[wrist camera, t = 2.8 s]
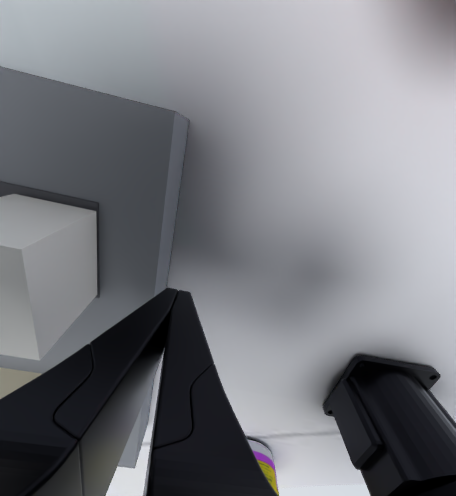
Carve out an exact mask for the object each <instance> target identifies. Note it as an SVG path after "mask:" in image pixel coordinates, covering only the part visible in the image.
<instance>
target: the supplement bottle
mask: <svg viewBox="0 0 456 496" xmlns="http://www.w3.org/2000/svg"><path fill="white" fill-rule="evenodd" d="M247 440H248V439H247ZM248 442H249V444H250V446H251V448H252V451H253V453H254V455H255V457H256V459H257V461H258V463H259V465H260V467H261V469H262V471H263V473H264V474H265V476H266V478H267V480H268V481H269V483H270V484H271V486H272V487H273V489H274V490H275V492H276V493H277V494H278V496H279V492H278V485H277V478H276V472H275V466H274V460H273V456H272V454H271V452H270V451H269V449H268V448H267V447H265V446H264V445H263V444H261V443H259V442H256V441H252V440H248Z"/></svg>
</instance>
